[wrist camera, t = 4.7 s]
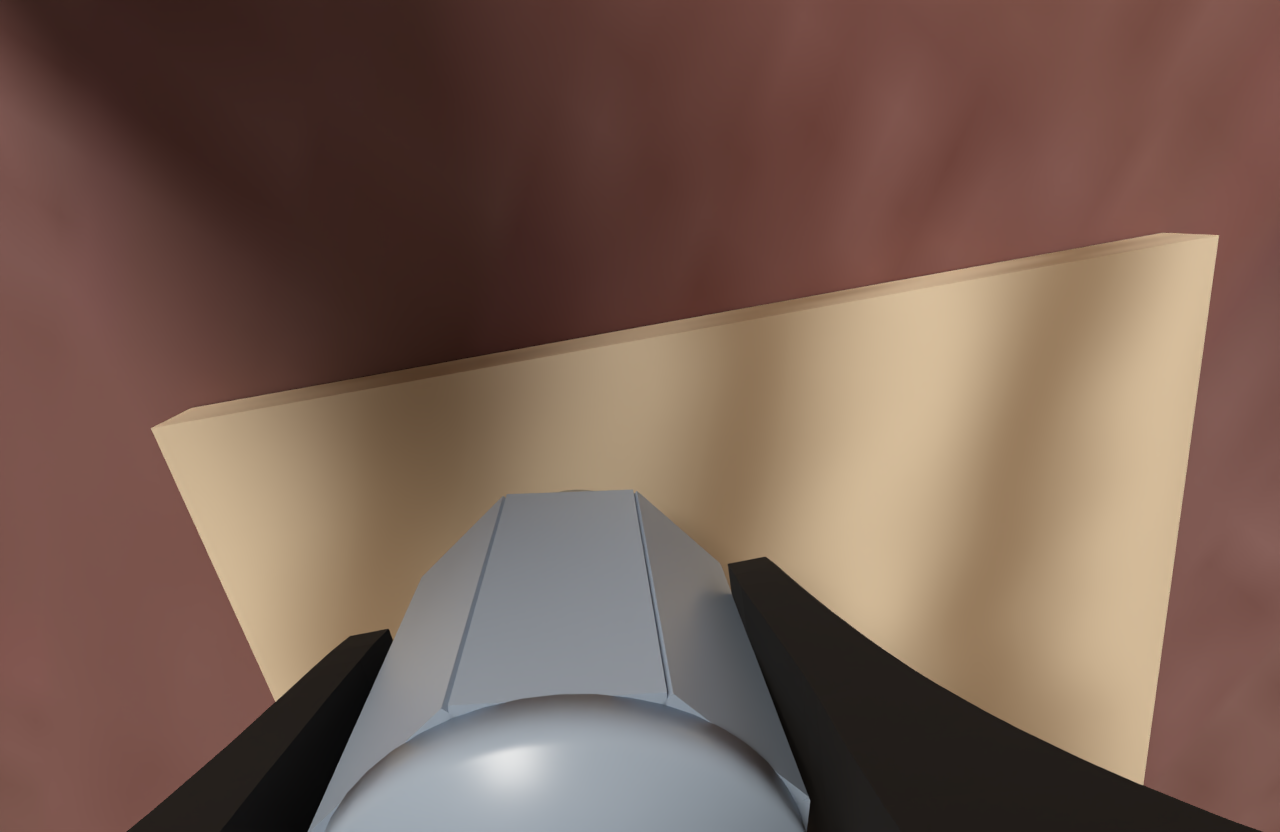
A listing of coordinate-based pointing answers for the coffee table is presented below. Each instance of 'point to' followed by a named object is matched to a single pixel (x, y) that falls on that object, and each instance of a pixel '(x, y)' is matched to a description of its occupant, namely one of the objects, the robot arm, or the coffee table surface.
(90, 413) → the coffee table surface
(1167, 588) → the board
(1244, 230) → the coffee table surface
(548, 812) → the cap
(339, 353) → the coffee table surface
